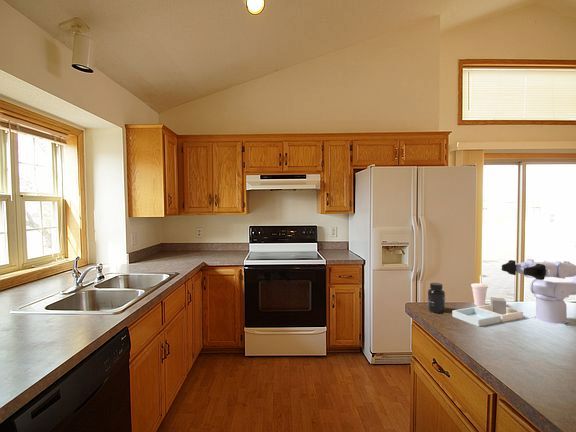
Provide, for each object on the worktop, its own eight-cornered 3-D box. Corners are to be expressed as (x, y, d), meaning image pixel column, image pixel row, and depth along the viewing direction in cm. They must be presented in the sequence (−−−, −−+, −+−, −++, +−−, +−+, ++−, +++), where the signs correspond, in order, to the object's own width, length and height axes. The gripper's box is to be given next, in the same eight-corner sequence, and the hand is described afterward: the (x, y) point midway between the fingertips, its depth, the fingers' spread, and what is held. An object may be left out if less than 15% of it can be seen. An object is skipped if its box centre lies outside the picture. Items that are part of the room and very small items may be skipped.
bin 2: (494, 310, 127) (494, 303, 126) (523, 319, 116) (522, 311, 116) (475, 313, 123) (475, 306, 123) (502, 323, 112) (502, 315, 112)
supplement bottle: (426, 311, 127) (426, 284, 127) (429, 307, 132) (428, 281, 132) (444, 314, 123) (443, 286, 123) (446, 310, 128) (445, 283, 128)
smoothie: (490, 308, 129) (490, 277, 129) (474, 307, 130) (474, 276, 130) (484, 304, 135) (483, 274, 135) (469, 303, 137) (468, 273, 137)
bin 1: (473, 314, 123) (473, 307, 123) (500, 323, 112) (500, 315, 112) (452, 317, 119) (452, 310, 119) (478, 328, 108) (478, 320, 108)
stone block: (490, 312, 122) (490, 297, 122) (503, 314, 120) (503, 298, 120) (492, 316, 118) (492, 300, 118) (506, 317, 116) (506, 301, 116)
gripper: (518, 256, 118) (494, 256, 114) (561, 262, 105) (535, 261, 100) (517, 274, 118) (493, 274, 114) (560, 281, 104) (535, 282, 100)
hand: (513, 269), depth 107 cm, fingers open, 7 cm apart
